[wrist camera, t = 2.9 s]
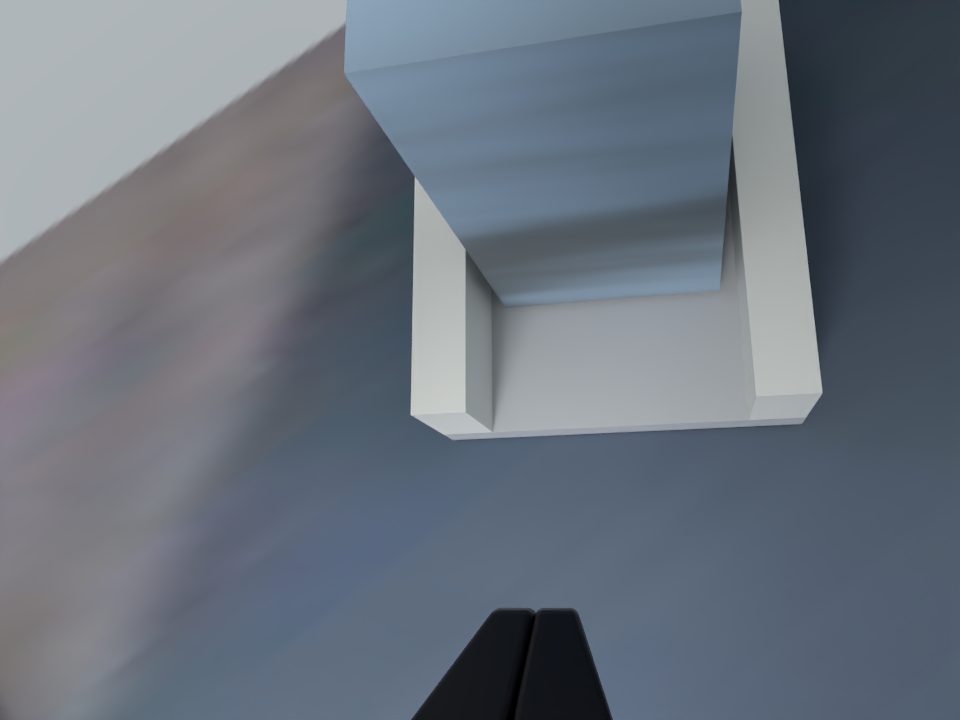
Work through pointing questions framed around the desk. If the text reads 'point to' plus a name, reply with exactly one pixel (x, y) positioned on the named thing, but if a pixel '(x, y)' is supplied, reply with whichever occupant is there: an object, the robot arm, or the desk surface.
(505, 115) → the block
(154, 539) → the desk surface
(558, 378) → the chute
